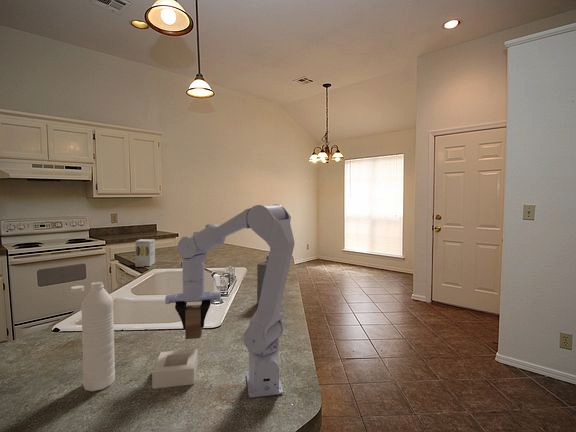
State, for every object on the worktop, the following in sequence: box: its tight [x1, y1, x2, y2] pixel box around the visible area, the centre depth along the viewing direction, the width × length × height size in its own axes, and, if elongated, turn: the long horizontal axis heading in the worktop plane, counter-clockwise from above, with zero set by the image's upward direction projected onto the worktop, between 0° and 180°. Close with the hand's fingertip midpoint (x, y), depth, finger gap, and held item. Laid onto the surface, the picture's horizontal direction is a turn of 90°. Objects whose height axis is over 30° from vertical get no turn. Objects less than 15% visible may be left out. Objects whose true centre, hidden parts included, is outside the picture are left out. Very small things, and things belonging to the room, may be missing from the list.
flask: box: [256, 255, 269, 305], centre depth 132 cm, size 15×6×20 cm, turn 153°
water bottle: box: [70, 281, 116, 392], centre depth 70 cm, size 9×6×25 cm
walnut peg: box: [184, 304, 203, 340], centre depth 83 cm, size 4×4×8 cm
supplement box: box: [134, 238, 156, 268], centre depth 195 cm, size 10×9×17 cm
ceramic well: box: [151, 348, 199, 390], centre depth 76 cm, size 10×10×4 cm
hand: (193, 327), depth 83 cm, fingers closed on walnut peg, 4 cm apart
